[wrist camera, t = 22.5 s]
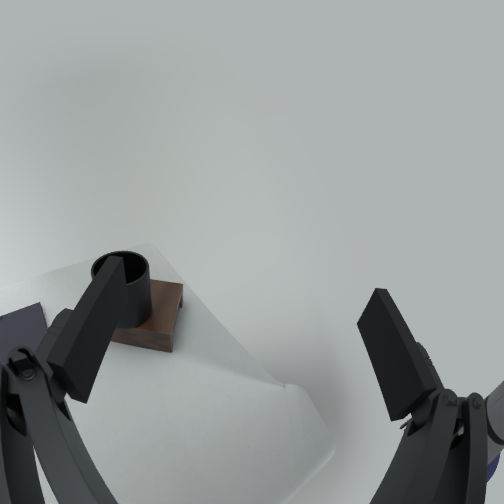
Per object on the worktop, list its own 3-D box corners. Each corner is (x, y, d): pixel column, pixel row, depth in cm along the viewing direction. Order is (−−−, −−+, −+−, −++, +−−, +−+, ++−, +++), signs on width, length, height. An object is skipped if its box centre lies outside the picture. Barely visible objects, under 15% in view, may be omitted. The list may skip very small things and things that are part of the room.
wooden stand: (182, 302, 54) (183, 275, 50) (171, 352, 43) (169, 325, 39) (115, 291, 52) (111, 264, 49) (93, 336, 41) (84, 309, 38)
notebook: (68, 389, 31) (41, 307, 43) (64, 384, 30) (39, 301, 42) (10, 411, 23) (-4, 324, 34) (5, 406, 22) (-7, 318, 33)
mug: (163, 289, 49) (162, 248, 44) (141, 336, 39) (134, 292, 34) (119, 279, 49) (115, 239, 44) (91, 321, 38) (79, 278, 34)
